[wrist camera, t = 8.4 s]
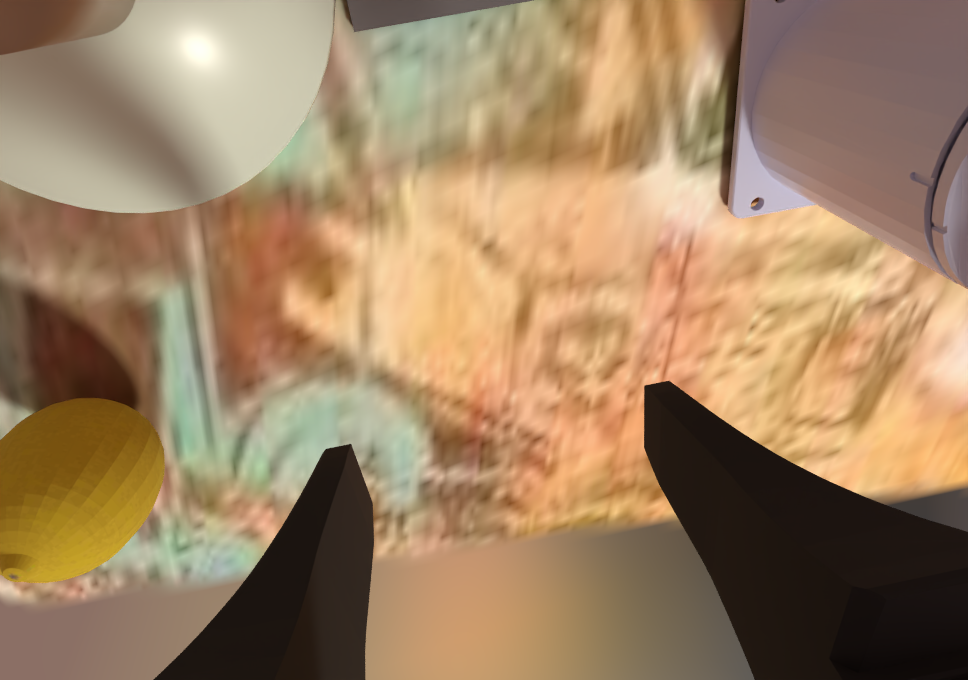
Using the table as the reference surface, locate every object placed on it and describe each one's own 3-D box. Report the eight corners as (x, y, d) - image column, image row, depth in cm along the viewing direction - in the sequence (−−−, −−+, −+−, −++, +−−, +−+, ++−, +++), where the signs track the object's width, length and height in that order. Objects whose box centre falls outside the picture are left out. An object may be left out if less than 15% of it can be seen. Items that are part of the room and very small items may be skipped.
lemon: (17, 376, 23) (-141, 540, 17) (152, 346, 23) (48, 498, 17) (92, 472, 26) (-15, 643, 20) (212, 446, 26) (145, 608, 20)
